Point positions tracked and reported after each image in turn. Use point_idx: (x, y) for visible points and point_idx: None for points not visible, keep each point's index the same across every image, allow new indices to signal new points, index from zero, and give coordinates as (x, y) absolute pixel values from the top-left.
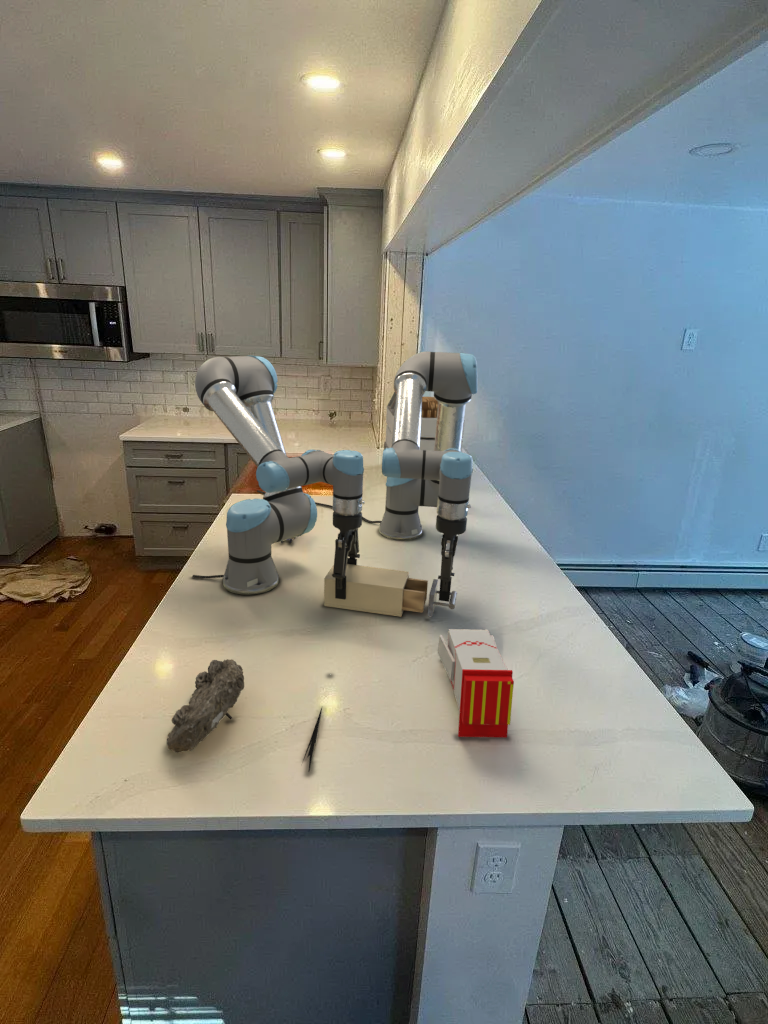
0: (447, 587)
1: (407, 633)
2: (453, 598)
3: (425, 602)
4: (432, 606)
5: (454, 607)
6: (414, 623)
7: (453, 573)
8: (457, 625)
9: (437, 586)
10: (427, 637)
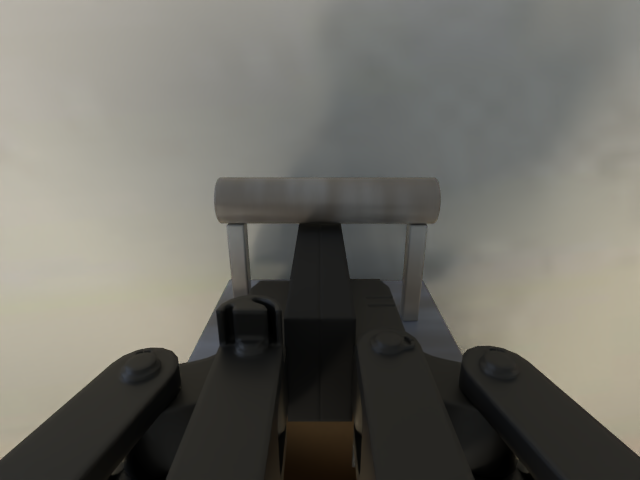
0: (393, 303)
1: (556, 357)
2: (347, 202)
3: None
4: (441, 317)
5: (433, 178)
6: (461, 341)
7: (236, 322)
8: (446, 129)
9: (205, 331)
10: (587, 271)
